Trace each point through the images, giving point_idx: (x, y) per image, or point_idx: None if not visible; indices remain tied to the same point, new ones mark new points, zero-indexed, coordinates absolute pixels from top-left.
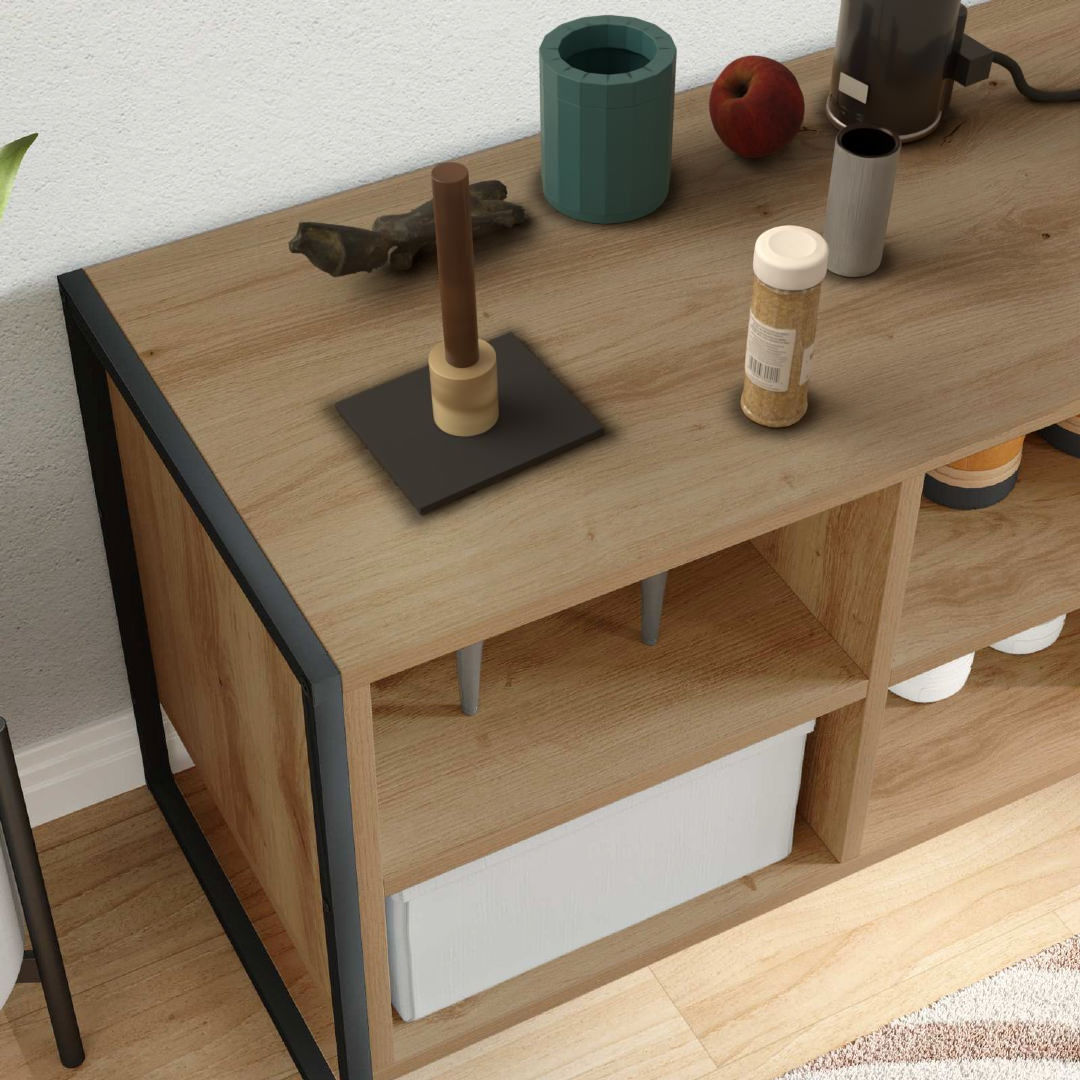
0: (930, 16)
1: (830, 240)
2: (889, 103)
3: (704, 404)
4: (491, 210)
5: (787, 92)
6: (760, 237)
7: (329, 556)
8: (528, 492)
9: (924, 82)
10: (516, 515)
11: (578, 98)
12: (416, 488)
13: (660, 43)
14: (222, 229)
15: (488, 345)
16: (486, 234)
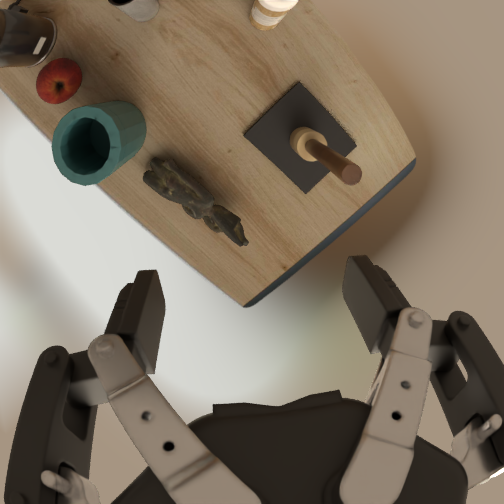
0: (17, 14)
1: (151, 12)
2: (45, 28)
3: (268, 44)
4: (169, 171)
5: (57, 63)
6: (276, 5)
7: (376, 172)
8: (337, 107)
9: (36, 17)
10: (350, 109)
11: (124, 146)
12: (347, 149)
13: (70, 120)
14: (204, 274)
15: (302, 136)
16: None
